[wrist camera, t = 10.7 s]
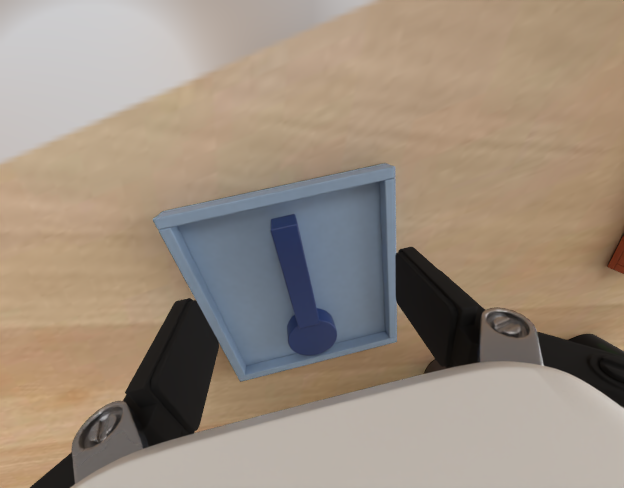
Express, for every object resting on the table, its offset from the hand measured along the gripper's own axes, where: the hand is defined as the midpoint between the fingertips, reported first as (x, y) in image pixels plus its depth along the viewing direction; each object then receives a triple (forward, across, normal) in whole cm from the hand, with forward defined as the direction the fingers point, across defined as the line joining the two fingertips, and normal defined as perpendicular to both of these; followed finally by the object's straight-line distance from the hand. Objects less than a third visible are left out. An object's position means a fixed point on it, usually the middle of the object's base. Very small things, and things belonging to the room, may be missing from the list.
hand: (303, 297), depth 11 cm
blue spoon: (+4, 0, +2) cm, 4 cm away
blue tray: (+4, 0, +2) cm, 5 cm away
